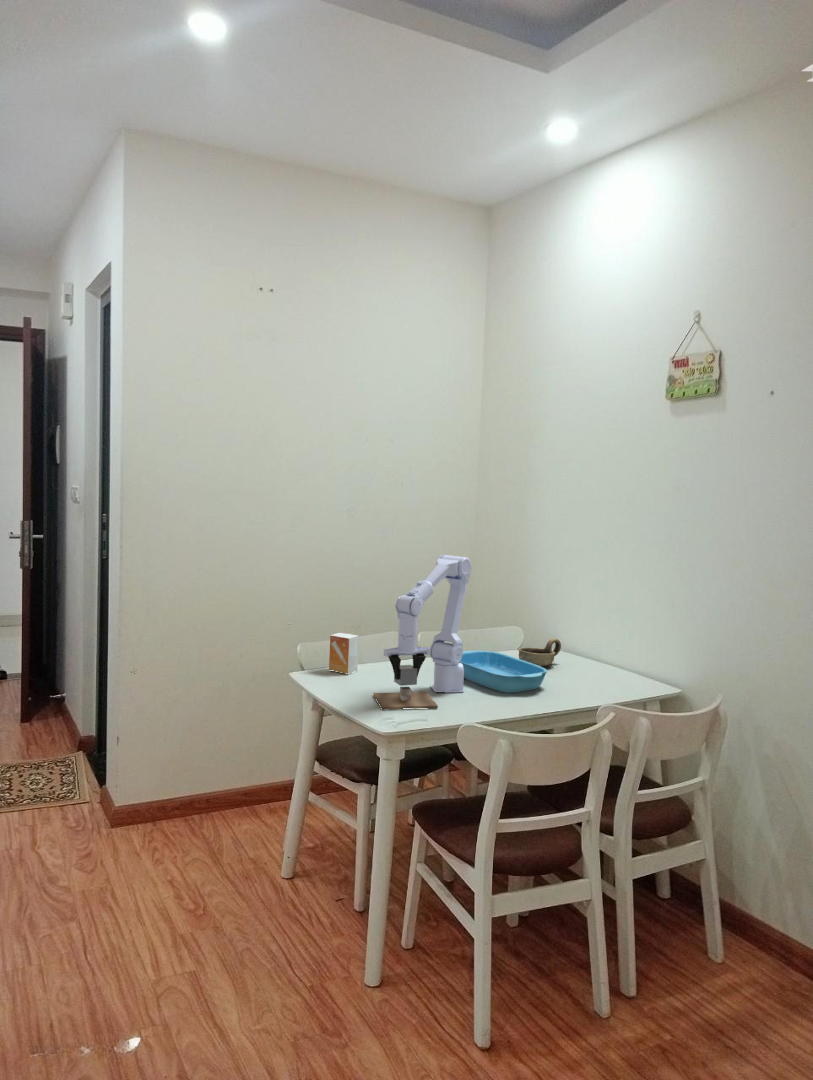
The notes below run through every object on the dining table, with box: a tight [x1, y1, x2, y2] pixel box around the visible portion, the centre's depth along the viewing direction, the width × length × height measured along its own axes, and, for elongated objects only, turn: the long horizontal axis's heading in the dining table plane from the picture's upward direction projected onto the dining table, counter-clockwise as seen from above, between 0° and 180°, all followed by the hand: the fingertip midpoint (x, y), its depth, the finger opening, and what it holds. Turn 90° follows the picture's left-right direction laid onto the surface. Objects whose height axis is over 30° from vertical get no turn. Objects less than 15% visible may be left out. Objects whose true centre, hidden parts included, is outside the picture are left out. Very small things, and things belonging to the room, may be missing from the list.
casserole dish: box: [459, 650, 548, 694], centre depth 278 cm, size 37×22×7 cm, turn 34°
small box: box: [328, 632, 360, 674], centre depth 282 cm, size 8×6×13 cm
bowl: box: [518, 637, 562, 667], centre depth 303 cm, size 14×18×10 cm
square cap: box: [393, 664, 418, 687], centre depth 248 cm, size 5×5×5 cm
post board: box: [373, 686, 439, 710], centre depth 249 cm, size 17×15×4 cm
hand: (405, 678), depth 248 cm, fingers closed on square cap, 5 cm apart
